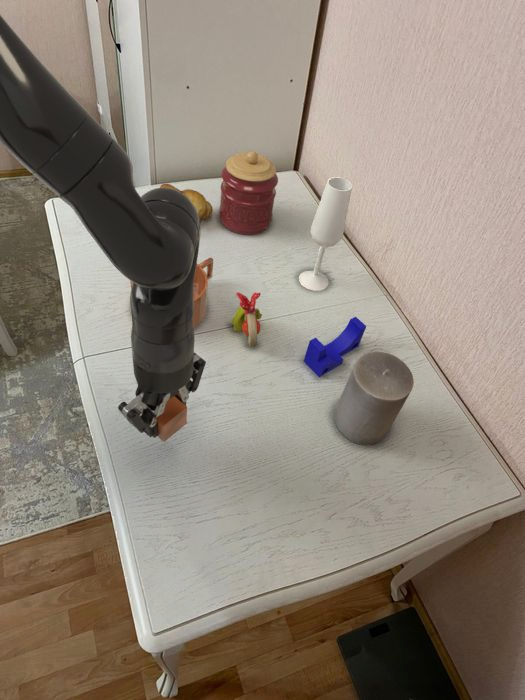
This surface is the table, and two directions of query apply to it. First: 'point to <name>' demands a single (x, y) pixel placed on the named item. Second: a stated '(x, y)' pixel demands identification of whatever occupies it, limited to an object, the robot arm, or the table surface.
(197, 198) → the bread roll
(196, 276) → the measuring cup
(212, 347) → the table surface
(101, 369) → the table surface
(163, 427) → the orange block
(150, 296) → the robot arm
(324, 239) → the champagne flute
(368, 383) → the pillar candle
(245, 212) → the kitchen canister
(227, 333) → the table surface
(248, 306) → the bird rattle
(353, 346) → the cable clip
